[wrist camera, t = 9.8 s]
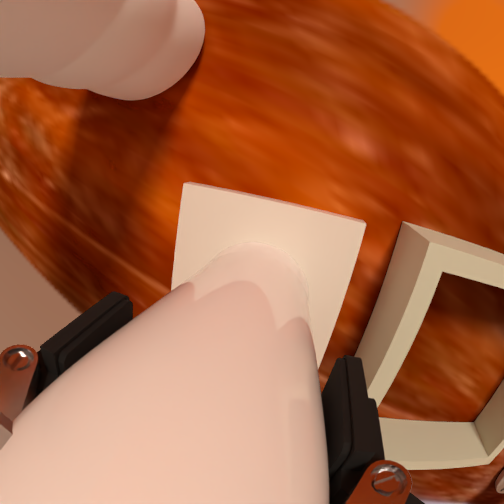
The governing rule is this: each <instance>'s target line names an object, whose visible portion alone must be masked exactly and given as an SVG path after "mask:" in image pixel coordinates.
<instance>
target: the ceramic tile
mask: <svg viewBox="0 0 504 504" xmlns="http://www.w3.org/2000/svg"><path fill="white" fill-rule="evenodd" d="M365 227H366V223H365V222H364V221H363V220H359V219H355V218H351V217H348V216H344V215H340V214H336V213H332V212H328V211H324V210H320V209H315V208H311V207H307V206H303V205H299V204H294V203H290V202H286V201H281V200H277V199H272V198H268V197H263V196H258V195H254V194H249V193H244V192H239V191H234V190H229V189H224V188H219V187H214V186H209V185H204V184H199V183H193V182H187V183H184V185H183V192H182V199H181V206H180V214H179V221H178V230H177V238H176V247H175V256H174V266H173V277H172V288H171V291H172V290H173V289H175V288H176V287H177V286H179V285H180V284H181V283H183V282H184V281H186V280H187V279H188V278H190V277H191V276H192V275H194V274H195V273H196V272H198V271H199V270H200V269H202V268H203V267H204V266H206V265H207V264H208V263H209V262H210V261H211V260H212V259H213V258H214V257H215V256H216V255H217V254H218V253H219V252H221V251H222V250H224V249H225V248H227V247H229V246H232V245H234V244H238V243H242V242H263V243H268V244H271V245H274V246H276V247H278V248H280V249H282V250H283V251H285V252H286V253H288V254H289V255H290V256H291V257H292V258H294V259H295V261H296V262H297V263H298V264H299V266H300V267H301V268H302V270H303V272H304V274H305V276H306V279H307V282H308V287H309V296H310V299H309V308H310V316H311V323H312V330H313V337H314V345H315V352H316V359H317V366H318V368H319V366H320V363H321V360H322V358H323V355H324V353H325V350H326V347H327V345H328V342H329V339H330V337H331V334H332V331H333V329H334V326H335V323H336V320H337V317H338V314H339V312H340V309H341V306H342V303H343V300H344V297H345V294H346V291H347V288H348V285H349V281H350V278H351V275H352V272H353V269H354V265H355V262H356V259H357V255H358V252H359V249H360V245H361V242H362V238H363V235H364V231H365Z"/></svg>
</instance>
